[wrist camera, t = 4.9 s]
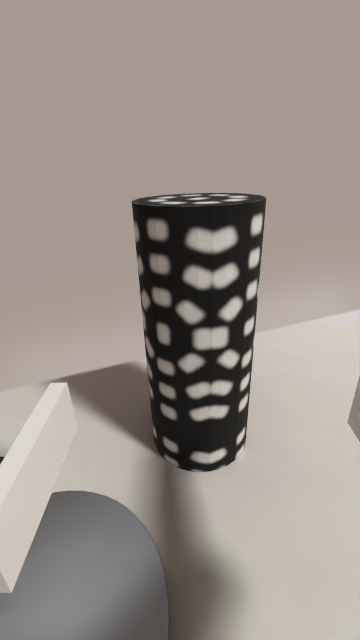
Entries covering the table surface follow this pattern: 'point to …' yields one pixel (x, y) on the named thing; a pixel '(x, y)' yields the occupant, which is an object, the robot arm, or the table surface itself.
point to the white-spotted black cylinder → (199, 320)
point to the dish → (88, 576)
